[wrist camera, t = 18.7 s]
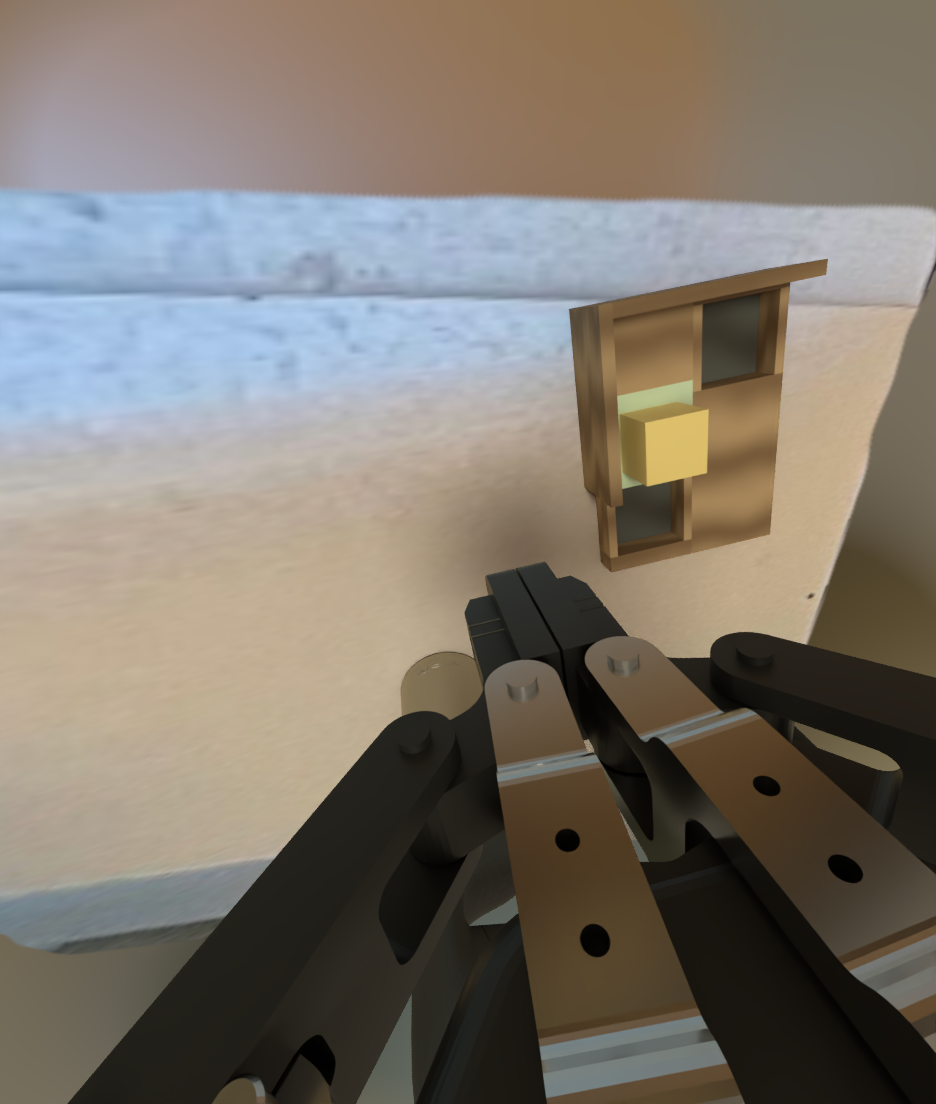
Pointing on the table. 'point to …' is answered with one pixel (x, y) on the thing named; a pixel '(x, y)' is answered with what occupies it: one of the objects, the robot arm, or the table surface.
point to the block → (664, 443)
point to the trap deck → (676, 376)
